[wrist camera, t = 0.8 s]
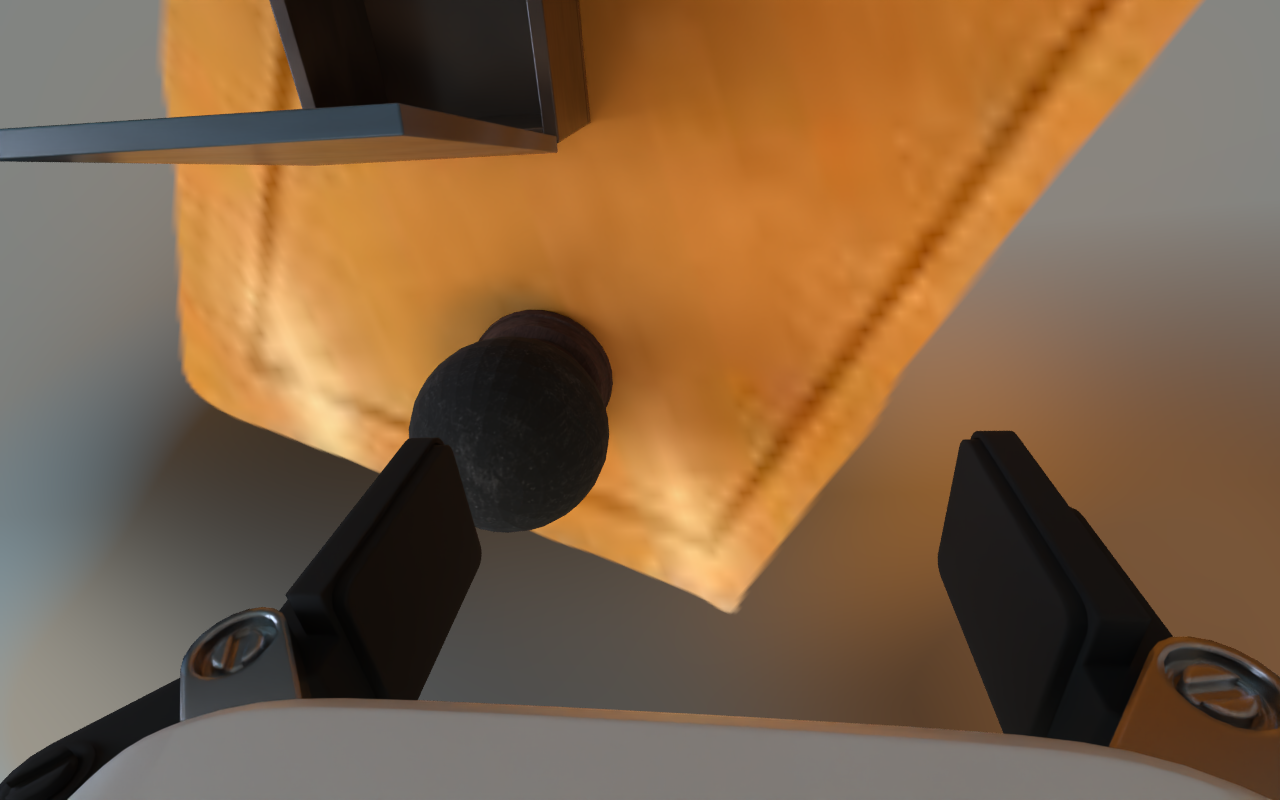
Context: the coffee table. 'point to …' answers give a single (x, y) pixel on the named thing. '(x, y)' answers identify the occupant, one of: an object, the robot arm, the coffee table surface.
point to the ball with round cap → (521, 418)
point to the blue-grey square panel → (277, 138)
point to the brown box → (442, 58)
